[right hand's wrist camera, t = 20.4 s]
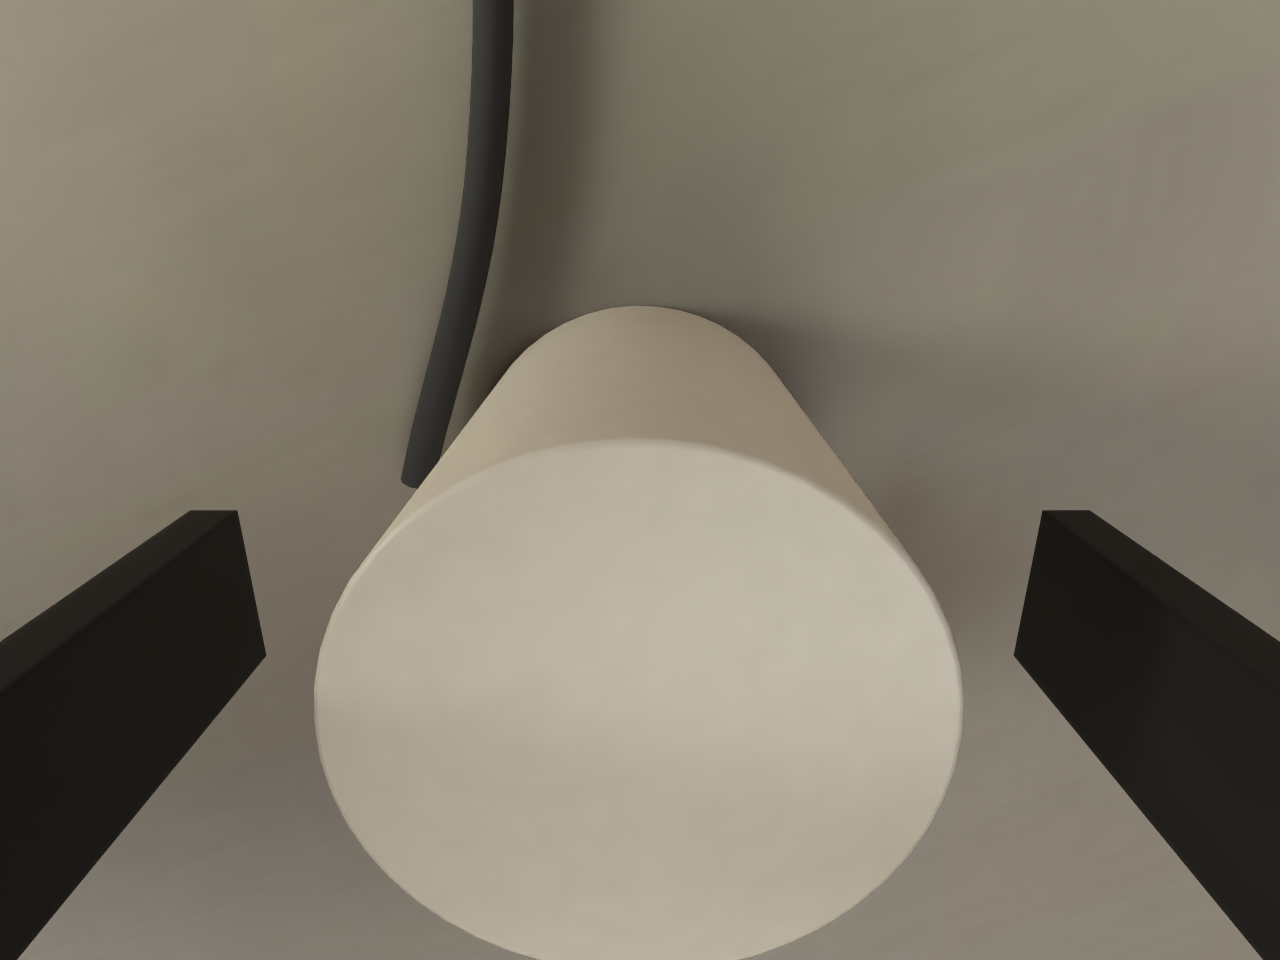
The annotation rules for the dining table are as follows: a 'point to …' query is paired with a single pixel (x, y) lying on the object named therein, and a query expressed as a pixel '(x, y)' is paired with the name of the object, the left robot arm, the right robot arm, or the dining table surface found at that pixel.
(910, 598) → the can
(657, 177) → the dining table surface
